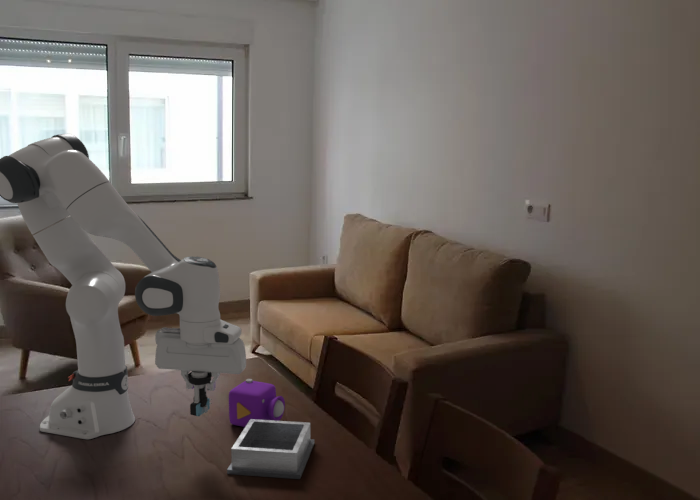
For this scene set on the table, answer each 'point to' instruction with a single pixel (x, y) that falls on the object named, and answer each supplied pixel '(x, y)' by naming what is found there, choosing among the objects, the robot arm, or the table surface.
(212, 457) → the table surface
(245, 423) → the toy camera
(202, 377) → the push button
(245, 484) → the table surface
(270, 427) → the grey open box
